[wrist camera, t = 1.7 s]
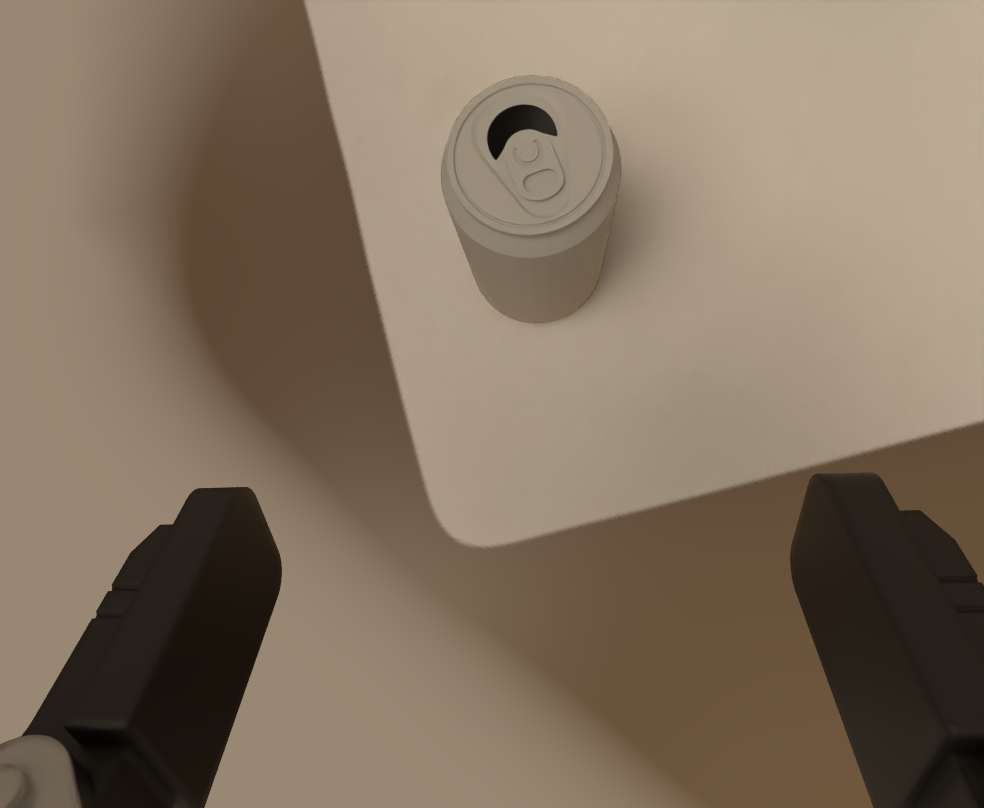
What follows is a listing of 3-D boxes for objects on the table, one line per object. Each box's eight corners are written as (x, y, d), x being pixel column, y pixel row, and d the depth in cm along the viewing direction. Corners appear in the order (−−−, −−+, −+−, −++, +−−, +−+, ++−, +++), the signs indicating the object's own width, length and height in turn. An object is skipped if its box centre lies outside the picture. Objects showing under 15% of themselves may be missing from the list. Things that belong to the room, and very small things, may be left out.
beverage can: (573, 185, 35) (583, 33, 23) (620, 300, 34) (655, 201, 22) (457, 231, 36) (408, 103, 24) (500, 345, 35) (472, 272, 23)
